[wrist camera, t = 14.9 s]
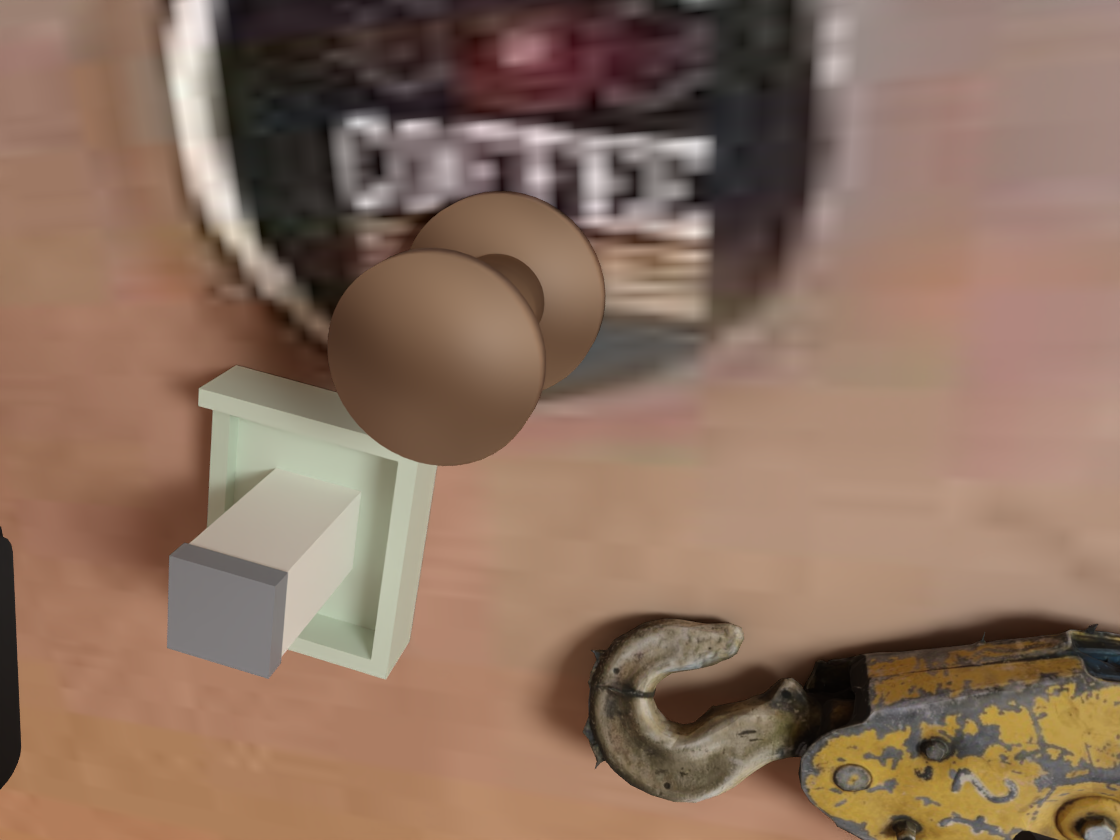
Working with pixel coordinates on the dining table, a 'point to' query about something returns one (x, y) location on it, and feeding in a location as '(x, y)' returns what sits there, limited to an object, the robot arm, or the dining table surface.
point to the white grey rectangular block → (261, 571)
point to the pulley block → (885, 732)
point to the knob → (466, 328)
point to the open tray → (343, 459)
